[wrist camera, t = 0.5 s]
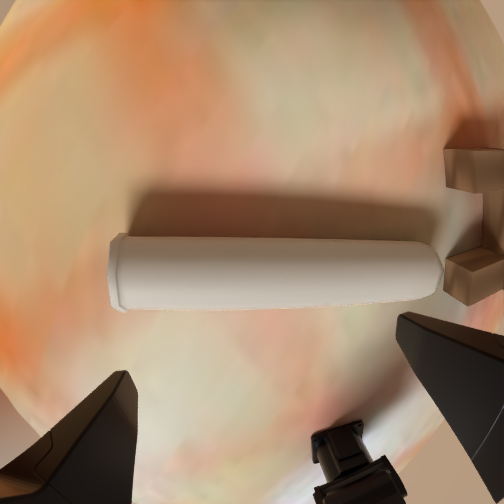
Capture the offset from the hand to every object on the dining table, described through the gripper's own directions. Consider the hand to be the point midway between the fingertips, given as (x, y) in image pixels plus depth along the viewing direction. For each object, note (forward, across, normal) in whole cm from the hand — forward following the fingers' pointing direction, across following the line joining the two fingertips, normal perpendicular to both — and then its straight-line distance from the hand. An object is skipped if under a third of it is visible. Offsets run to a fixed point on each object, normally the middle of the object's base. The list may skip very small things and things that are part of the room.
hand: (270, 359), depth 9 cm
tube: (+14, -4, +2) cm, 15 cm away
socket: (+14, -23, +2) cm, 27 cm away
